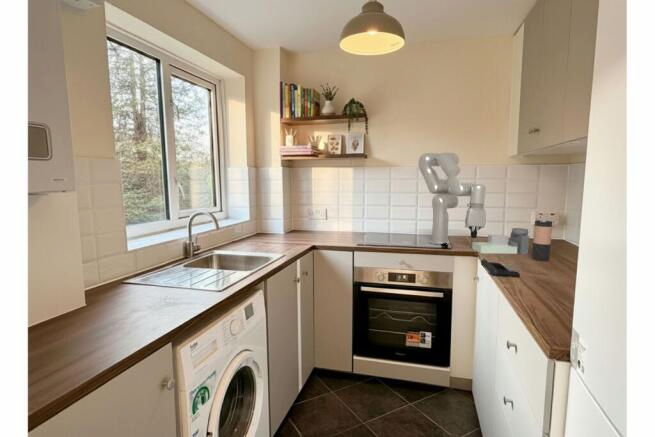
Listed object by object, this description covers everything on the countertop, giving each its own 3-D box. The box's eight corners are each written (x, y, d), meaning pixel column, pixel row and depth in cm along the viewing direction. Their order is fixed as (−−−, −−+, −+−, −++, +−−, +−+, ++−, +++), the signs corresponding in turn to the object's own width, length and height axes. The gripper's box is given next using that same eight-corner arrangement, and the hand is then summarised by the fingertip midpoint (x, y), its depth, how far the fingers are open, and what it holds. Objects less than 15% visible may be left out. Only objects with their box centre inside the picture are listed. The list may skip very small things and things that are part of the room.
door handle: (514, 262, 159) (478, 258, 162) (531, 273, 139) (489, 269, 142) (513, 268, 159) (477, 264, 162) (529, 281, 140) (488, 276, 142)
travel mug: (540, 261, 168) (544, 222, 166) (528, 258, 176) (531, 220, 173) (552, 260, 170) (556, 221, 168) (539, 257, 178) (542, 220, 175)
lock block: (487, 243, 195) (488, 234, 194) (504, 243, 194) (504, 235, 193) (491, 245, 189) (491, 236, 189) (508, 245, 188) (508, 236, 187)
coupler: (472, 248, 198) (473, 227, 197) (519, 249, 198) (521, 227, 196) (480, 253, 186) (482, 230, 185) (531, 253, 186) (533, 230, 184)
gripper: (465, 206, 186) (462, 238, 189) (492, 207, 186) (489, 239, 189) (460, 205, 194) (458, 236, 196) (486, 205, 193) (483, 236, 196)
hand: (473, 237), depth 193 cm, fingers closed
